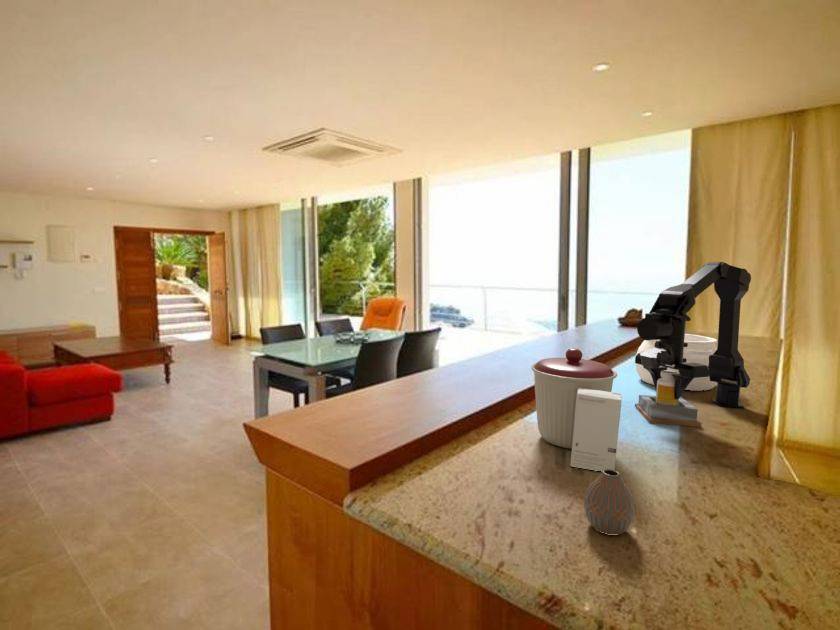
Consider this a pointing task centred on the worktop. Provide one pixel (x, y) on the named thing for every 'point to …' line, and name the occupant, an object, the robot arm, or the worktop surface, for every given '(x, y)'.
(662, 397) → the supplement bottle
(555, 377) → the canister
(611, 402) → the skincare box
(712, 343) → the pot
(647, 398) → the socket board
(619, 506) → the vase
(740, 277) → the robot arm
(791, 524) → the worktop surface
